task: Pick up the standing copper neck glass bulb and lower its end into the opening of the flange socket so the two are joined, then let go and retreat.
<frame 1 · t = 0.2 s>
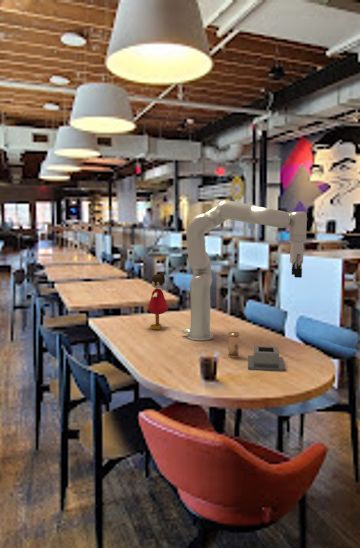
hand: (296, 276, 195), 31 cm above the table, tool pointing down, fingers open, 9 cm apart
flange socket: (265, 364, 167), on the table
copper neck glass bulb: (233, 356, 177), on the table
toy: (158, 329, 224), on the table
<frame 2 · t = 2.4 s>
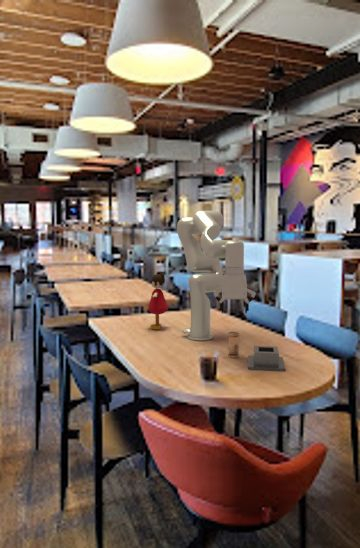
hand: (234, 312, 175), 19 cm above the table, tool pointing down, fingers open, 9 cm apart
nothing on the table moved.
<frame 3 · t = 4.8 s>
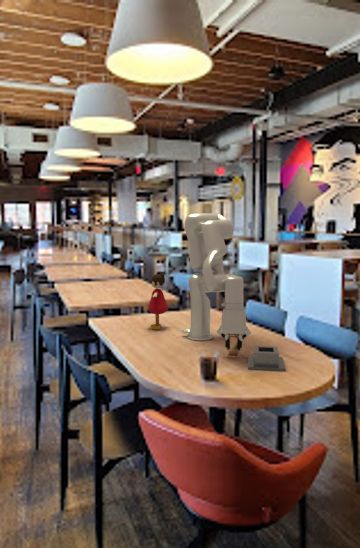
hand: (233, 348, 177), 3 cm above the table, tool pointing down, fingers closed on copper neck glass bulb, 4 cm apart
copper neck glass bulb: (233, 356, 177), on the table, touching gripper
everything else where it was.
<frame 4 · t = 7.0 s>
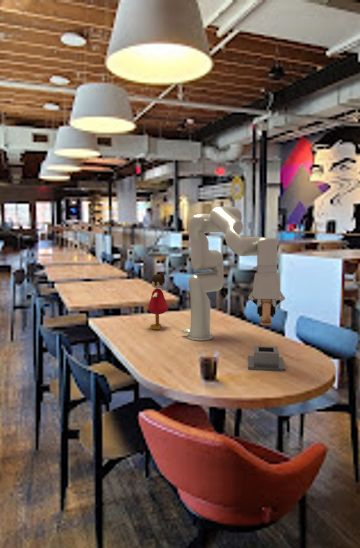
hand: (266, 315, 165), 20 cm above the table, tool pointing down, fingers closed on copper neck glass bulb, 4 cm apart
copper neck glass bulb: (266, 324, 165), point 16 cm above the table, touching gripper
everything else where it was.
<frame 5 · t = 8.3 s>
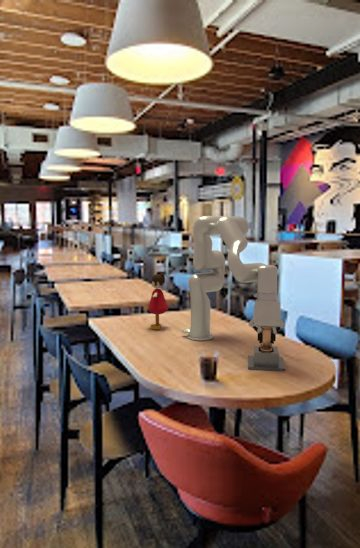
hand: (266, 342, 166), 9 cm above the table, tool pointing down, fingers closed on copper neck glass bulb, 4 cm apart
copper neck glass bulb: (266, 350, 166), point 6 cm above the table, touching gripper
everything else where it was.
when the fingers open (7 cm above the table, at t = 9.4 s): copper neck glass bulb drops 3 cm, resting on flange socket.
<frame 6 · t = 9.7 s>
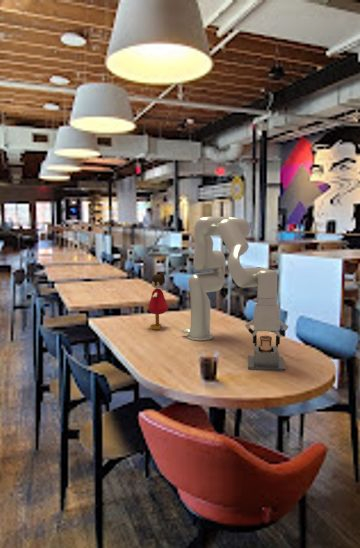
hand: (266, 345, 166), 8 cm above the table, tool pointing down, fingers open, 7 cm apart
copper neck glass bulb: (265, 361, 167), point 1 cm above the table, touching flange socket
everything else where it was.
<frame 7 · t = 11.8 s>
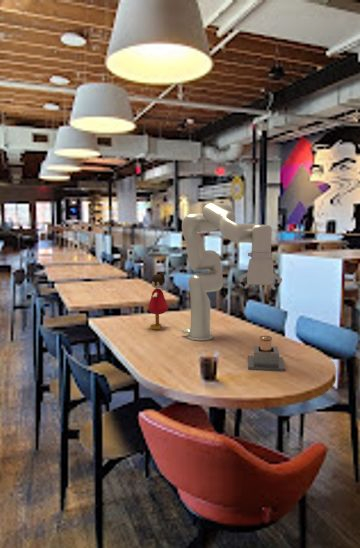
hand: (259, 298, 170), 25 cm above the table, tool pointing down, fingers open, 9 cm apart
nothing on the table moved.
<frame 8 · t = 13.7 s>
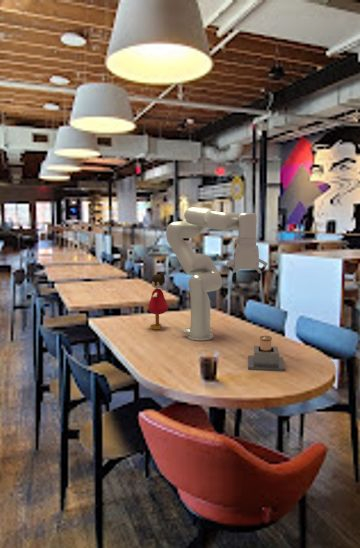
hand: (246, 282, 182), 30 cm above the table, tool pointing down, fingers open, 9 cm apart
nothing on the table moved.
at the end: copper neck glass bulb 0.2 cm off-centre on the flange socket, point 1.0 cm above the flange socket's base; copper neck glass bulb tilted 0°; the gripper is holding nothing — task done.
